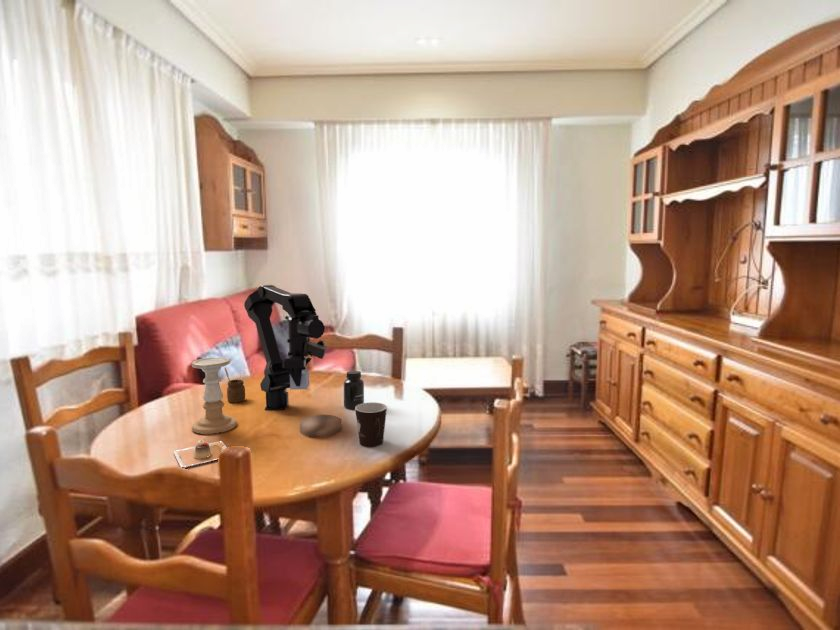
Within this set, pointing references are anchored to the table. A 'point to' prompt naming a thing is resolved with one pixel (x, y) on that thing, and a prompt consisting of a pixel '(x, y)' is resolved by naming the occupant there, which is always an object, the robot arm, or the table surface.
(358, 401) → the supplement bottle
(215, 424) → the candle holder
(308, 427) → the brown disc
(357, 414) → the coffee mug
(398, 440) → the table surface
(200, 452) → the dessert
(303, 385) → the blue cube
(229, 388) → the utensil holder
